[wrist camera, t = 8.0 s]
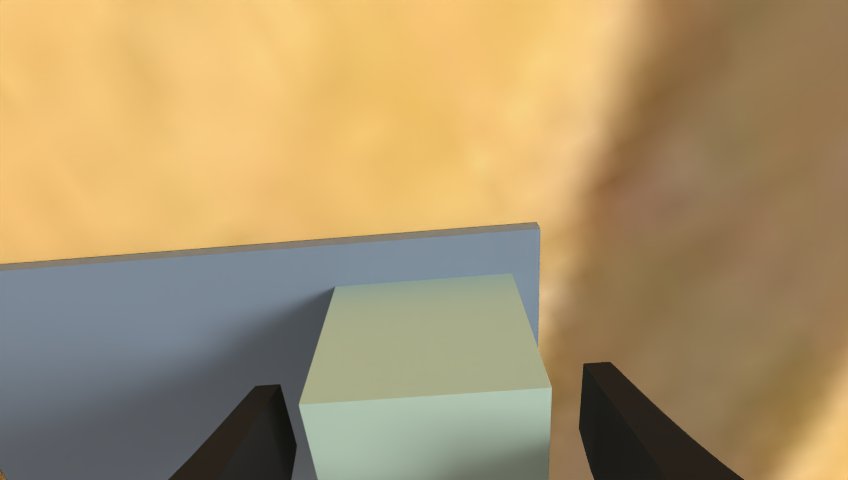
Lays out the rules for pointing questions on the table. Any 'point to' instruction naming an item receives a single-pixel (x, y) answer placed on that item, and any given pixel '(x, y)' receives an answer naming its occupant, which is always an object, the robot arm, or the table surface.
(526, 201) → the table surface
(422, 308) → the sage block
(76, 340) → the board
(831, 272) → the table surface
